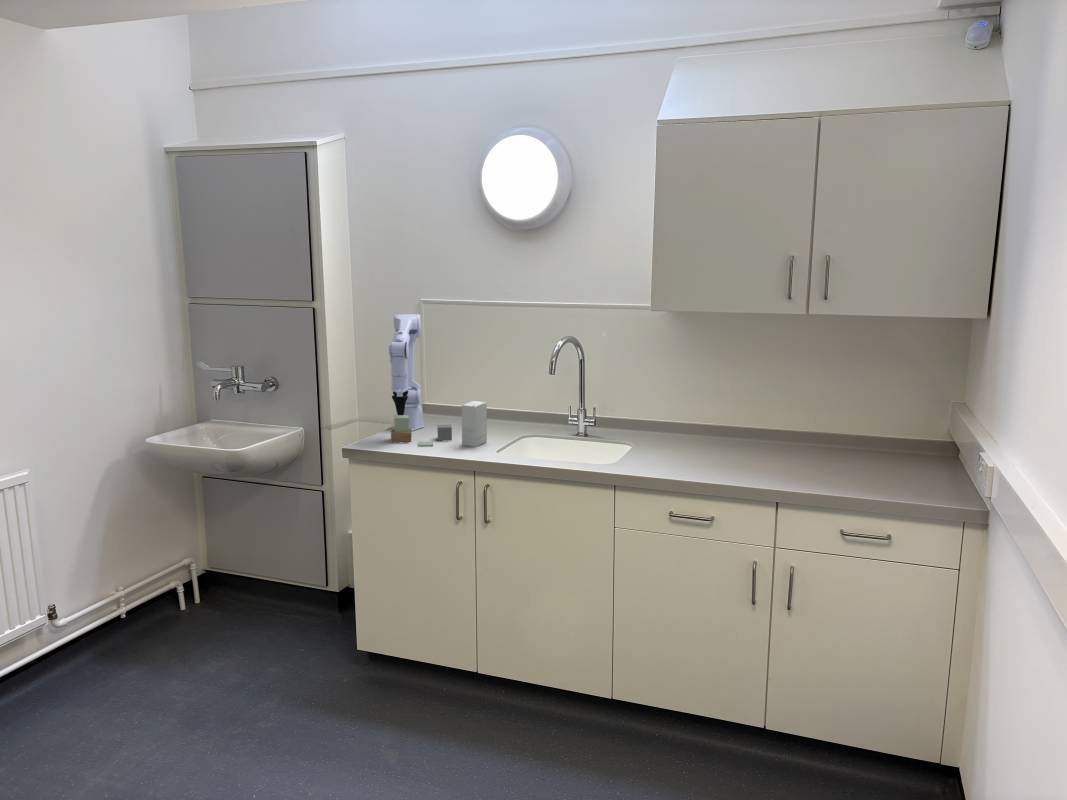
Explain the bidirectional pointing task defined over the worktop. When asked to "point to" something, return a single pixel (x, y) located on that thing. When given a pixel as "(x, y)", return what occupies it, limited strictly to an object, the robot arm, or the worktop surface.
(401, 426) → the sage cube
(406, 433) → the walnut base
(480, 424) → the skincare box
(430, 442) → the card
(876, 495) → the worktop surface
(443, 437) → the charcoal cube
